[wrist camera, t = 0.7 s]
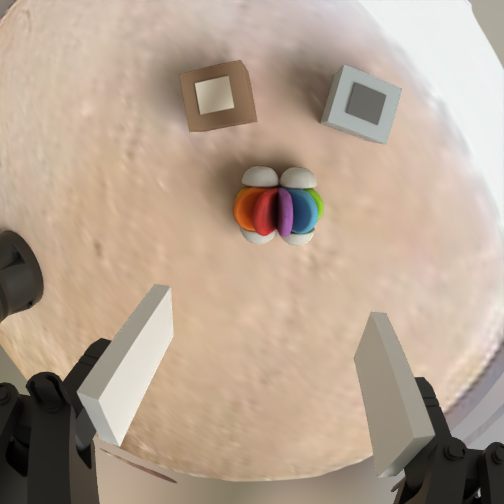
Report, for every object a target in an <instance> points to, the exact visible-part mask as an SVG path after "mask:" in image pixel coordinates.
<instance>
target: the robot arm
mask: <svg viewBox="0 0 504 504" xmlns="http://www.w3.org/2000/svg"><path fill="white" fill-rule="evenodd" d="M42 295H43V278H42V273H41V270H40V267H39V264H38V262H37V260H36V257H35V256H34V254H33V252H32V250H31V249H30V247H29V246H28V245H27V243H26V242H25V241H24V240H23V239H22V238H21V237H20V236H19V235H17V234H16V233H14V232H11V231H4V232H2V233H0V323H1V322H2V321H3V320H4V319H5V318H6V317H7V316H9V315H12V314H15V313H18V312H21V311H24V310H27V309H30V308H31V307H33V306H34V305H35V304H36V303H37V302H39V301H40V299H41V297H42ZM173 335H174V334H173V319H172V302H171V286H165V285H159V284H154V286H153V287H152V288H151V289H150V291H149V292H148V293H147V295H146V296H145V297H144V299H143V300H142V301H141V302H140V304H139V305H138V306H137V308H136V309H135V310H134V312H133V313H132V314H131V316H130V317H129V318H128V320H127V321H126V322H125V324H124V325H123V327H122V328H121V329H120V331H119V332H118V333H117V335H116V336H115V337H114V339H113V340H112V341H111V340H107V339H104V338H100V339H99V340H97V341H96V342H94V343H93V344H91V345H90V346H89V348H88V349H87V350H86V351H85V353H84V355H82V357H81V358H80V359H79V362H78V363H76V365H75V366H74V367H73V369H72V370H71V371H70V373H69V374H68V375H67V377H66V378H65V379H64V381H63V382H62V380H61V379H60V377H59V376H58V375H56V374H55V373H52V372H40V373H38V374H36V375H34V376H32V377H31V378H30V379H29V380H28V382H27V384H26V388H27V390H28V391H29V393H30V395H31V396H28V395H22V394H19V392H18V391H17V389H16V388H15V386H14V385H12V384H10V383H5V382H4V383H0V504H100V503H99V495H98V486H97V476H96V462H95V446H94V442H93V440H92V439H93V437H94V435H95V433H96V432H97V434H98V436H99V438H100V439H101V440H103V441H105V442H108V443H111V444H113V445H116V446H119V447H120V445H121V443H122V441H123V439H124V436H125V434H126V432H127V430H128V428H129V426H130V424H131V421H132V419H133V417H134V415H135V413H136V411H137V409H138V407H139V405H140V402H141V400H142V398H143V396H144V394H145V392H146V390H147V388H148V386H149V384H150V382H151V380H152V378H153V376H154V374H155V372H156V370H157V368H158V365H159V363H160V361H161V359H162V357H163V355H164V353H165V351H166V349H167V347H168V345H169V343H170V341H171V339H172V337H173ZM354 361H355V365H356V369H357V374H358V378H359V383H360V387H361V392H362V397H363V401H364V406H365V411H366V416H367V421H368V427H369V432H370V437H371V443H372V449H373V455H374V461H375V467H376V474H377V478H382V477H391V476H396V475H397V474H399V473H400V472H401V471H402V470H403V469H404V471H405V477H404V478H403V479H402V480H401V481H400V482H399V483H397V484H396V485H395V486H394V487H393V489H392V490H391V492H394V491H395V490H396V489H398V488H399V489H398V492H397V495H396V498H395V501H394V503H393V504H504V444H502V443H500V442H494V443H491V444H490V445H489V446H488V447H487V448H486V449H485V450H475V449H467V447H466V445H465V444H464V443H463V442H462V441H461V440H459V439H457V438H455V437H452V436H451V433H450V431H449V428H448V425H447V423H446V420H445V417H444V415H443V412H442V410H441V407H439V402H438V400H437V398H436V395H435V393H434V390H433V388H432V386H431V385H430V384H429V382H428V381H427V380H426V379H425V378H424V377H414V376H413V373H412V371H411V368H410V366H409V363H408V361H407V359H406V356H405V354H404V352H403V349H402V347H401V345H400V342H399V340H398V338H397V336H396V333H395V331H394V329H393V327H392V325H391V322H390V320H389V318H388V316H387V314H386V313H380V312H371V313H370V316H369V318H368V321H367V324H366V327H365V330H364V333H363V335H362V338H361V341H360V343H359V346H358V349H357V351H356V354H355V356H354ZM478 491H480V494H481V497H479V496H478Z"/></svg>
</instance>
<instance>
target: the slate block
mask: <svg viewBox="0 0 504 504" xmlns="http://www.w3.org/2000/svg"><path fill="white" fill-rule="evenodd" d="M401 91H402V89H401V88H399V87H397V86H395V85H393V84H390V83H388V82H386V81H384V80H381V79H379V78H377V77H374V76H372V75H370V74H367V73H365V72H362V71H360V70H357V69H355V68H352V67H349V66H347V65H344V66H343V67H342V68H341V69H340V70H339V71H338V72H337V73H336V74H335V75H334V78H333V81H332V85H331V88H330V92H329V95H328V98H327V102H326V105H325V108H324V112H323V115H322V118H321V122H320V124H323V125H326V126H329V127H332V128H335V129H337V130H340V131H343V132H346V133H348V134H351V135H354V136H356V137H359V138H361V139H364V140H366V141H369V142H375V143H381V144H386V143H387V140H388V137H389V133H390V130H391V127H392V123H393V120H394V117H395V113H396V110H397V106H398V102H399V99H400V95H401Z"/></svg>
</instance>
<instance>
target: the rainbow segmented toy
mask: <svg viewBox="0 0 504 504" xmlns="http://www.w3.org/2000/svg"><path fill="white" fill-rule="evenodd" d="M242 183H243V184H244V185H247V186H246V187H245V188H243V189H242V190H241V191H240V192H239V193H238V194H237V196H236V198H235V203H234V207H233V215H234V218H235V220H236V221H237V223H238V224H239V225H240V226H241V232H242V234H243V236H244V237H245V238H246V239H247V240H248V241H249V242H251V243H254V244H264V243H266V242H268V241H270V240H271V239H272V238H273V237H274V235H275V233H276V230H278V232H279V234H280V236H281V237H282V239H283V240H284V241H285V242H287V243H288V244H291V245H295V246H299V245H303V244H306V243H307V242H309V241H310V240H311V238H312V237H313V235H314V232H315V228H314V226H315V224H316V222H317V221H318V220H319V218H320V217H321V215H322V213H323V201H322V199H321V197H320V195H319V194H318V193H317V192H316V191H315V190H313V187H316V186H317V181H316V178H315V176H314V175H313V173H312V172H311V171H310V170H308V169H306V168H299V167H293V168H289V169H287V170H286V171H285V172H284V173H283V174H282V175H281V178H280V179H279V178H278V176H277V174H276V172H275V171H274V170H273V169H271V168H270V167H265V166H254V167H251V168H249V169H248V170H247V171H246V172H245V174H244V175H243V178H242ZM277 185H282V186H283V188H279V189H276V188H275V187H276V186H277Z"/></svg>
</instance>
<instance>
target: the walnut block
mask: <svg viewBox="0 0 504 504" xmlns="http://www.w3.org/2000/svg"><path fill="white" fill-rule="evenodd" d="M180 81H181V87H182V93H183V98H184V104H185V110H186V115H187V120H188V126H189V131H190V132H205V131H210V130H215V129H220V128H225V127H230V126H235V125H241V124H247V123H252V122H257V116H256V111H255V105H254V100H253V94H252V89H251V83H250V78H249V73H248V71H247V69H246V67H245V66H244V64H243V63H242V61H241V60H238V61H233V62H228V63H224V64H219V65H215V66H210V67H206V68H202V69H198V70H194V71H191V72H187V73H183V74H180Z"/></svg>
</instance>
